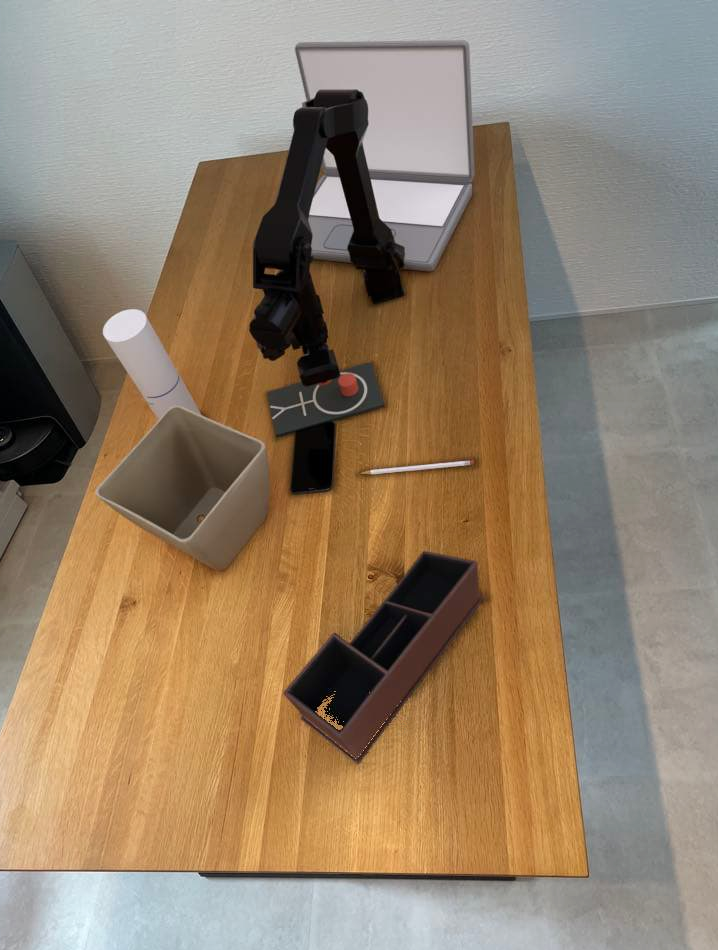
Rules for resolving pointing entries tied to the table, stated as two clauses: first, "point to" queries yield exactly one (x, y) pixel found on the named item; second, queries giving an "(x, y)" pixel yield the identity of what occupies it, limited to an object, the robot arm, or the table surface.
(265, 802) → the table surface
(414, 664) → the desk organizer
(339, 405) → the board
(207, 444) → the flower pot
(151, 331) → the cylindrical container
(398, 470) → the pencil
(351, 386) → the dot
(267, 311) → the robot arm
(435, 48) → the laptop
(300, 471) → the smartphone
